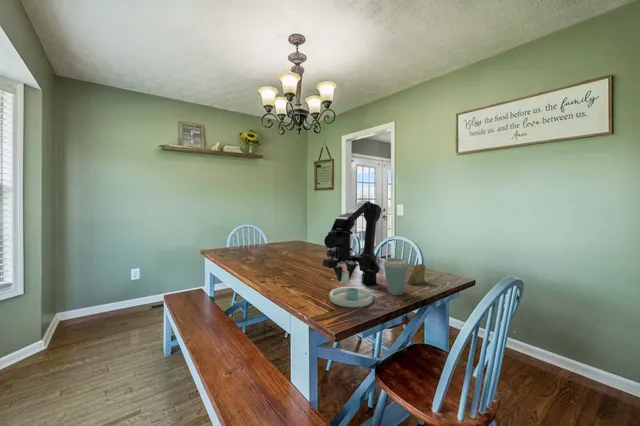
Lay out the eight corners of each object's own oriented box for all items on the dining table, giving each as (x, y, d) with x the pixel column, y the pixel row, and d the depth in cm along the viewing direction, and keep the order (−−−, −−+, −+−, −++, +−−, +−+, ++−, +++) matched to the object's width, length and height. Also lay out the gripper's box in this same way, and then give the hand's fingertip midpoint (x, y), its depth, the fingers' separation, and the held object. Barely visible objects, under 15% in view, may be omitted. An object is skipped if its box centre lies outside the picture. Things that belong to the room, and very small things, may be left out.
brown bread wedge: (410, 282, 137) (430, 279, 138) (404, 265, 142) (424, 262, 142) (405, 289, 146) (424, 286, 147) (400, 274, 151) (418, 271, 152)
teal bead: (345, 302, 115) (345, 290, 115) (350, 299, 119) (350, 287, 119) (354, 304, 113) (354, 292, 112) (360, 301, 116) (360, 289, 116)
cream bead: (343, 285, 122) (343, 273, 122) (336, 282, 126) (336, 271, 125) (351, 282, 125) (351, 271, 125) (343, 280, 129) (343, 269, 128)
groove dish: (362, 290, 132) (362, 285, 132) (380, 304, 115) (380, 298, 115) (324, 294, 127) (324, 289, 127) (337, 309, 110) (337, 303, 110)
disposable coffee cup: (411, 296, 125) (412, 262, 124) (388, 297, 123) (388, 263, 122) (401, 288, 135) (401, 257, 134) (379, 289, 133) (379, 258, 133)
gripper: (350, 241, 136) (350, 273, 137) (316, 244, 127) (316, 279, 128) (365, 244, 127) (365, 279, 127) (329, 248, 117) (329, 285, 118)
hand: (343, 280), depth 125 cm, fingers closed on cream bead, 4 cm apart
